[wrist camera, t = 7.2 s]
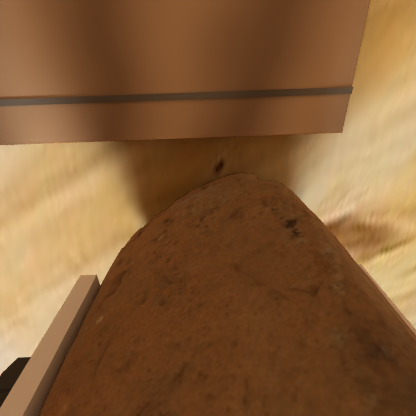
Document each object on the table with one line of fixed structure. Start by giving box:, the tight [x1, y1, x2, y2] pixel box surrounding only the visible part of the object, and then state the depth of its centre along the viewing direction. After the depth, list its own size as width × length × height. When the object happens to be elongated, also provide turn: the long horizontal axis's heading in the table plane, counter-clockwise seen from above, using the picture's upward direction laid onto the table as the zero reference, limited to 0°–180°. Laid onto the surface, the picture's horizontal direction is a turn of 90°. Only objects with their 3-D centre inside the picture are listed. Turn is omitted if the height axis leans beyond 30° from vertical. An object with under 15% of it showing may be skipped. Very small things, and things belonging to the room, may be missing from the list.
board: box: [0, 0, 370, 145], centre depth 12 cm, size 24×10×2 cm, turn 92°
